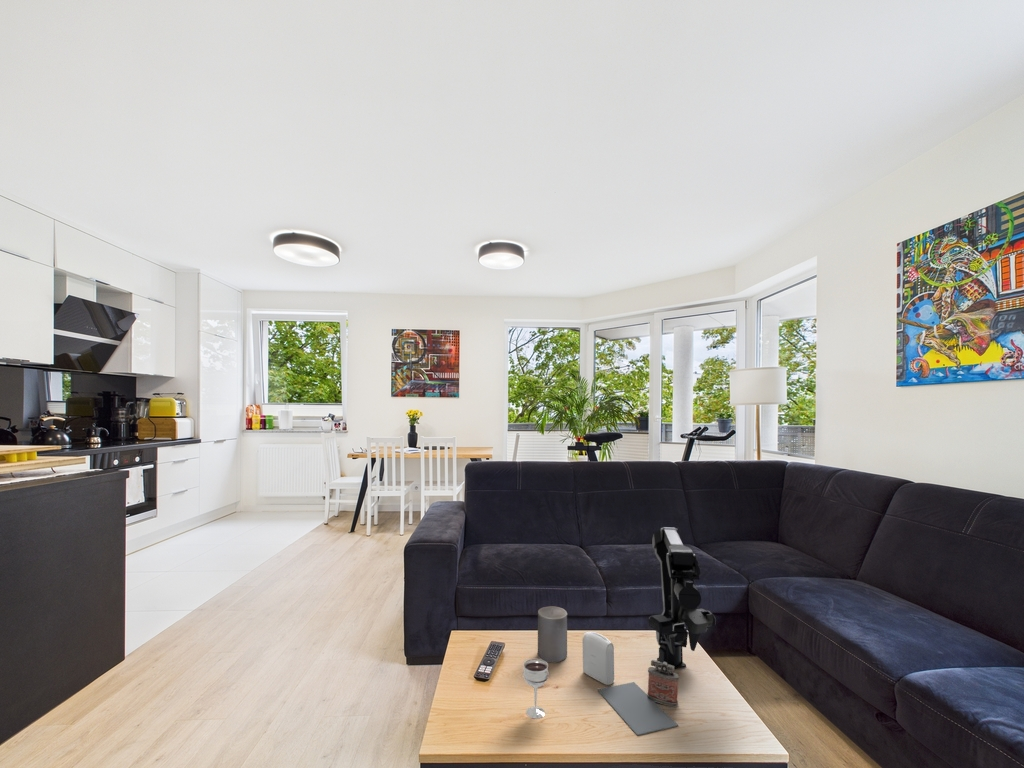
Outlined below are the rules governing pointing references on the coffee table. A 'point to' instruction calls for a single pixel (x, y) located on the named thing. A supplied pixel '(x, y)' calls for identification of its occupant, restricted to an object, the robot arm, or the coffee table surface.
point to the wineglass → (535, 682)
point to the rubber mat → (637, 708)
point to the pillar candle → (552, 634)
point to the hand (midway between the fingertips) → (682, 652)
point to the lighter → (663, 684)
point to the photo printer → (598, 657)
